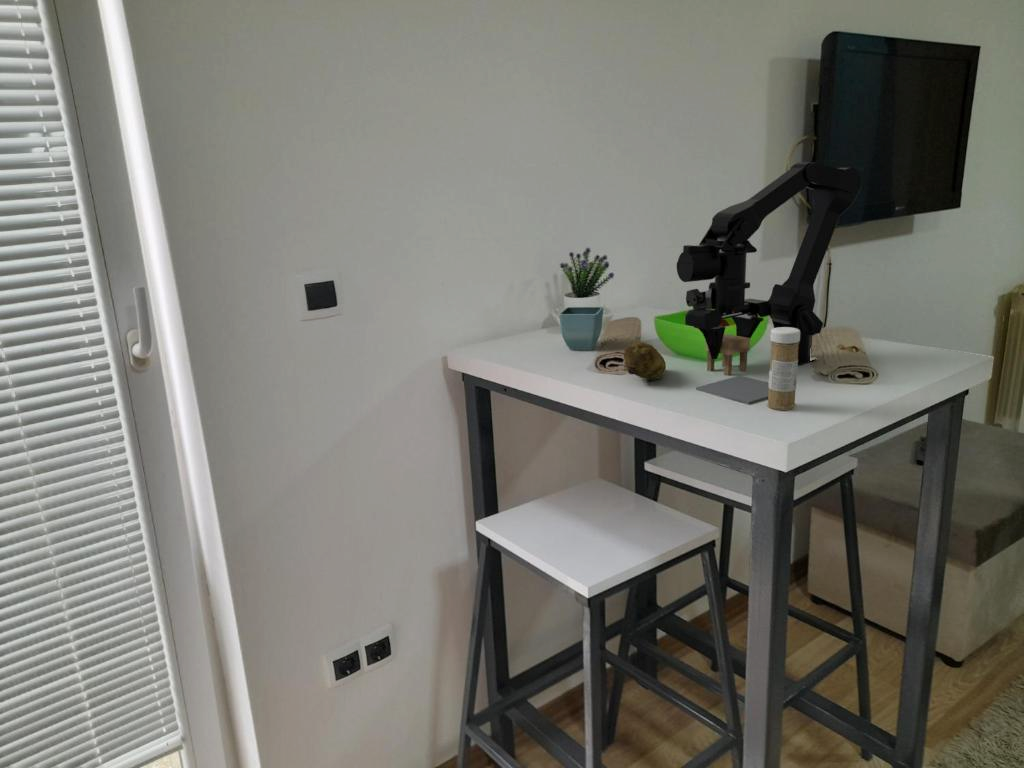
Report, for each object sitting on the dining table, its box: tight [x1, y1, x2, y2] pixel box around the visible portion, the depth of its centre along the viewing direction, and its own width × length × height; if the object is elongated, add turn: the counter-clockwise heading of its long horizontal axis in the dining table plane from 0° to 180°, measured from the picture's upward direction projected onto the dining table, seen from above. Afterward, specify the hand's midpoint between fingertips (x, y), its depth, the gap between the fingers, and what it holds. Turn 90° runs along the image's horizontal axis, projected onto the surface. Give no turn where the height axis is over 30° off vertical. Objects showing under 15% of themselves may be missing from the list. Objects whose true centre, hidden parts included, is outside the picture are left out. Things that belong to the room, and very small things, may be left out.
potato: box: [623, 341, 667, 381], centre depth 143 cm, size 8×13×8 cm, turn 137°
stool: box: [704, 333, 751, 376], centre depth 147 cm, size 6×6×7 cm
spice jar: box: [766, 327, 800, 411], centre depth 123 cm, size 5×5×13 cm
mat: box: [695, 375, 769, 405], centre depth 135 cm, size 12×12×1 cm
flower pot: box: [558, 306, 604, 351], centre depth 170 cm, size 9×9×9 cm
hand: (727, 355), depth 147 cm, fingers open, 7 cm apart
